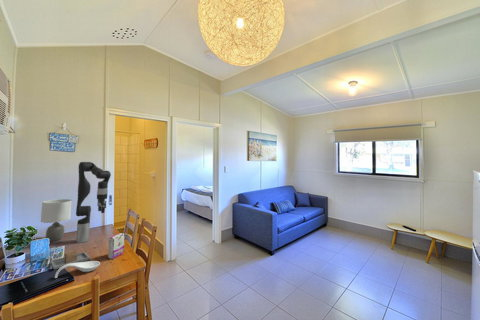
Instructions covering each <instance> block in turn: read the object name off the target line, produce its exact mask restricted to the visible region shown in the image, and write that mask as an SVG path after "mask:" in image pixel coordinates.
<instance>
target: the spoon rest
mask: <svg viewBox="0 0 480 320" xmlns="http://www.w3.org/2000/svg"><path fill="white" fill-rule="evenodd" d="M100 264H101V263H100V261H98V260H90V261H86V262H79V263H70V264H66V265H64V266H62V267H61V268H59V269H58V270H56V272H55V275H54V278H57V279H58V276H59V273H60V272H61V271H62V270H65V269H66V268H69V267H70V268H71V267H72V268H76V269H77V270H78V271H81V272H83V273H89V272H92V271H94V270H96V269H97V268H98V267H100V266H101V265H100Z"/></svg>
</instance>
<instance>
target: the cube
mask: <svg viewBox="0 0 480 320" xmlns="http://www.w3.org/2000/svg"><path fill="white" fill-rule="evenodd" d="M77 254H78V252H77V251H76V250H71V251H68V252H65V253H64V257H65V259H64V261H65V263H70V262H73V261H77Z"/></svg>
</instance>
